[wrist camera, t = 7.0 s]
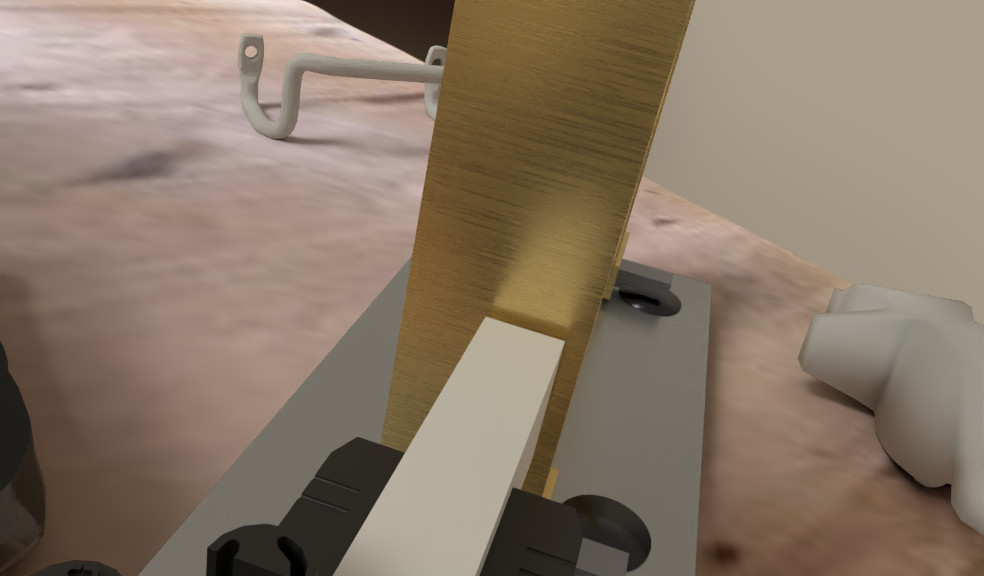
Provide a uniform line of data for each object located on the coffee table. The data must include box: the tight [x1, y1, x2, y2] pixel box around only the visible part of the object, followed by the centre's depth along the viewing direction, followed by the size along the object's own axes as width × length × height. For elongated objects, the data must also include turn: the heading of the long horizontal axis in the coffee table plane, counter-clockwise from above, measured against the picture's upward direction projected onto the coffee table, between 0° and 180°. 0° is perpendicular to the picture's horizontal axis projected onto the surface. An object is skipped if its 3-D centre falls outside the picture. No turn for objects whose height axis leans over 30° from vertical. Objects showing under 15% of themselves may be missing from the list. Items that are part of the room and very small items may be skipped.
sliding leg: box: [381, 0, 693, 576], centre depth 17 cm, size 6×4×15 cm, turn 75°
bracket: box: [238, 33, 447, 139], centre depth 47 cm, size 13×8×5 cm, turn 116°
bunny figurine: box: [798, 284, 984, 535], centre depth 29 cm, size 10×5×15 cm
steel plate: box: [138, 257, 712, 576], centre depth 24 cm, size 12×30×1 cm, turn 165°
